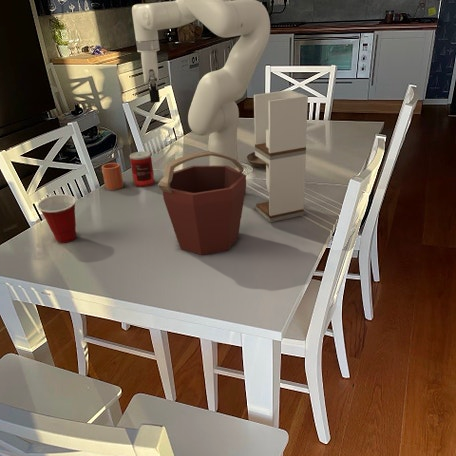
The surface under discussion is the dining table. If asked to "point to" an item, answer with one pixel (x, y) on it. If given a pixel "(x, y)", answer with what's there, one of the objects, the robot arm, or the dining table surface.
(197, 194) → the bucket
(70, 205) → the plastic cup
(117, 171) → the pot
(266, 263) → the dining table surface
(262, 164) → the plant saucer
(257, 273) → the dining table surface
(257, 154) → the tall white stacked tower
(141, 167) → the canned food
